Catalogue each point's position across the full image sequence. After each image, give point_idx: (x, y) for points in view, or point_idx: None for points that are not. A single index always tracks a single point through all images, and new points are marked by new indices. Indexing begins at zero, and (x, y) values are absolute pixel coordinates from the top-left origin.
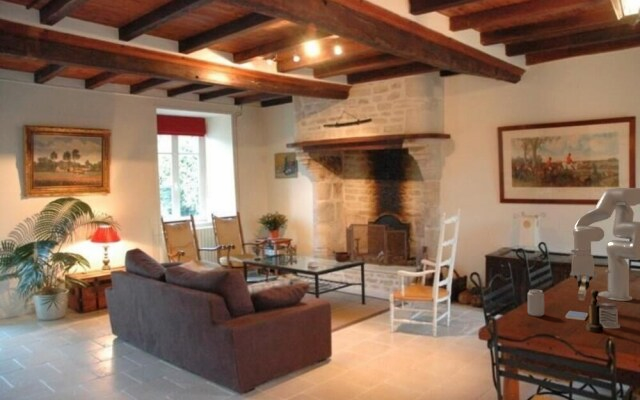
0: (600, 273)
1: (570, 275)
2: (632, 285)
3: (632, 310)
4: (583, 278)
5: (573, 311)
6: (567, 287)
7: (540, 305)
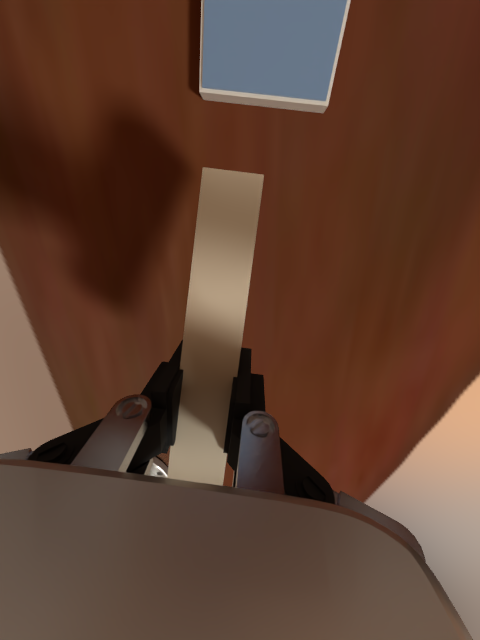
0: None
1: (397, 522)
2: None
3: (39, 329)
4: None
5: (297, 91)
6: None
7: None
